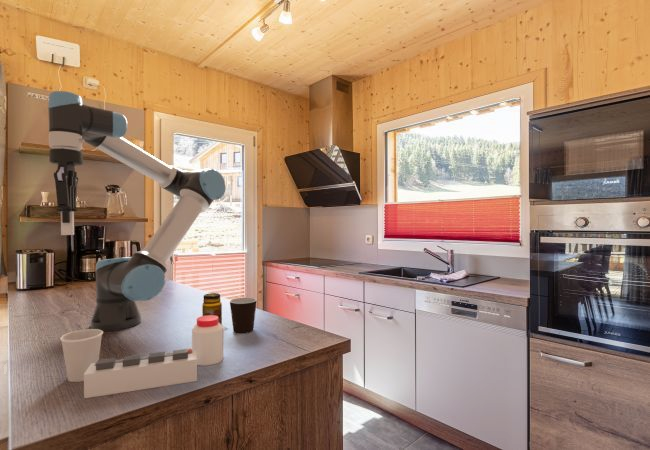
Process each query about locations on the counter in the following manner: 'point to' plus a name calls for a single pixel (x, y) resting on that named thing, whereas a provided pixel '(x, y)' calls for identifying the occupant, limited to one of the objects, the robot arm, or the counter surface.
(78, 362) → the dixie cup
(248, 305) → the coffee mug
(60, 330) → the counter surface
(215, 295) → the condiment
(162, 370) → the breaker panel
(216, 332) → the pill bottle
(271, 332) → the counter surface
